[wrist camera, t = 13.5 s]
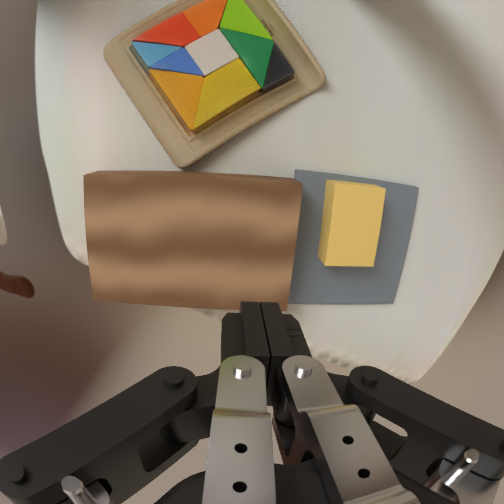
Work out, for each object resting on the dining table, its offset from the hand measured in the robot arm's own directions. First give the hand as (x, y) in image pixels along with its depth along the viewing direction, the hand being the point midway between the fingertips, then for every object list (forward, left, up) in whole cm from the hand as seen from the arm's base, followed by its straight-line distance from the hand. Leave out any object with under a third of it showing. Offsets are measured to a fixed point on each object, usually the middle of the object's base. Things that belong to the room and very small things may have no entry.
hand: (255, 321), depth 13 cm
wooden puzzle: (-16, -4, -24) cm, 29 cm away
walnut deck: (+4, -5, -23) cm, 24 cm away
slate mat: (+4, +14, -23) cm, 27 cm away
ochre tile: (+1, +13, -21) cm, 25 cm away
